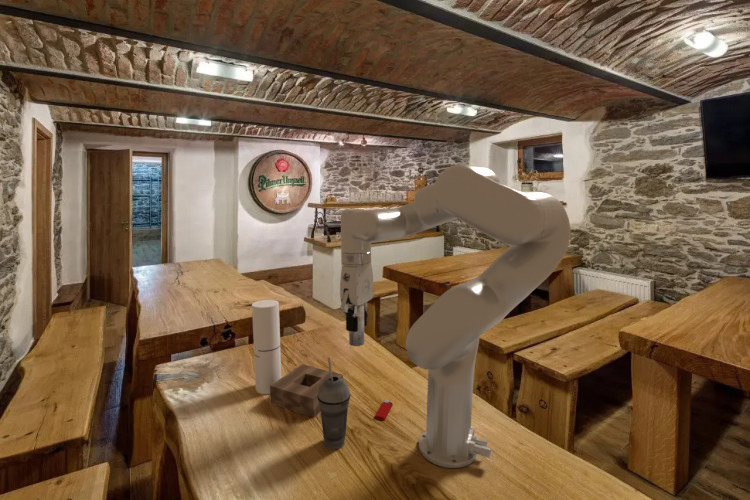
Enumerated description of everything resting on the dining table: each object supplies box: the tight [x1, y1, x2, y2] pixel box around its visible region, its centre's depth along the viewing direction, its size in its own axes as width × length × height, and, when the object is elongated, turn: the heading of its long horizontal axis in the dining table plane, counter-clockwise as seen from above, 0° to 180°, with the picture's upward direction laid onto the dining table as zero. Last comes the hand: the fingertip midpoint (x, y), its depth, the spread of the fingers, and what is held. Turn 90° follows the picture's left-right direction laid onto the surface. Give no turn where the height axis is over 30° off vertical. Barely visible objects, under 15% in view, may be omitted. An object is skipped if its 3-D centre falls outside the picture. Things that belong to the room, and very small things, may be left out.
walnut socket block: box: [269, 364, 344, 418], centre depth 103 cm, size 14×14×5 cm
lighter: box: [373, 399, 394, 421], centre depth 98 cm, size 3×1×8 cm
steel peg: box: [348, 301, 365, 347], centre depth 98 cm, size 4×4×12 cm
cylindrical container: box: [251, 299, 282, 395], centre depth 107 cm, size 7×7×25 cm
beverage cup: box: [317, 357, 351, 451], centre depth 84 cm, size 7×7×20 cm
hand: (356, 327), depth 98 cm, fingers closed on steel peg, 4 cm apart
